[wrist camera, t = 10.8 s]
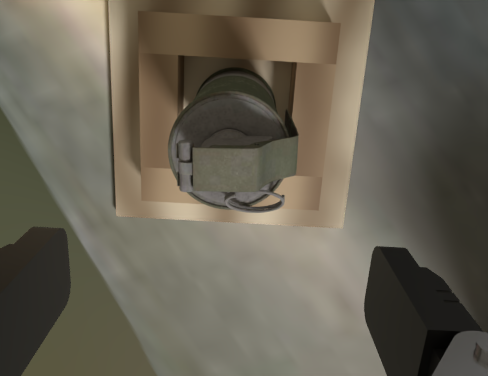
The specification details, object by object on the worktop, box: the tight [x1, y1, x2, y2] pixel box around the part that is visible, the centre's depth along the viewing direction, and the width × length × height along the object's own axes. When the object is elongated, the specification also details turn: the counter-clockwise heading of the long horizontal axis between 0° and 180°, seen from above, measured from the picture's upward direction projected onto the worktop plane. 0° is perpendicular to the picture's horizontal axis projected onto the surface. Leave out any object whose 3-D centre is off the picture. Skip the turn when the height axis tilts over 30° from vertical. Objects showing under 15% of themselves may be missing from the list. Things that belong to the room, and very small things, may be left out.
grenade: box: [168, 67, 299, 213], centre depth 27 cm, size 6×6×15 cm
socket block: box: [108, 0, 375, 228], centre depth 33 cm, size 18×18×4 cm
